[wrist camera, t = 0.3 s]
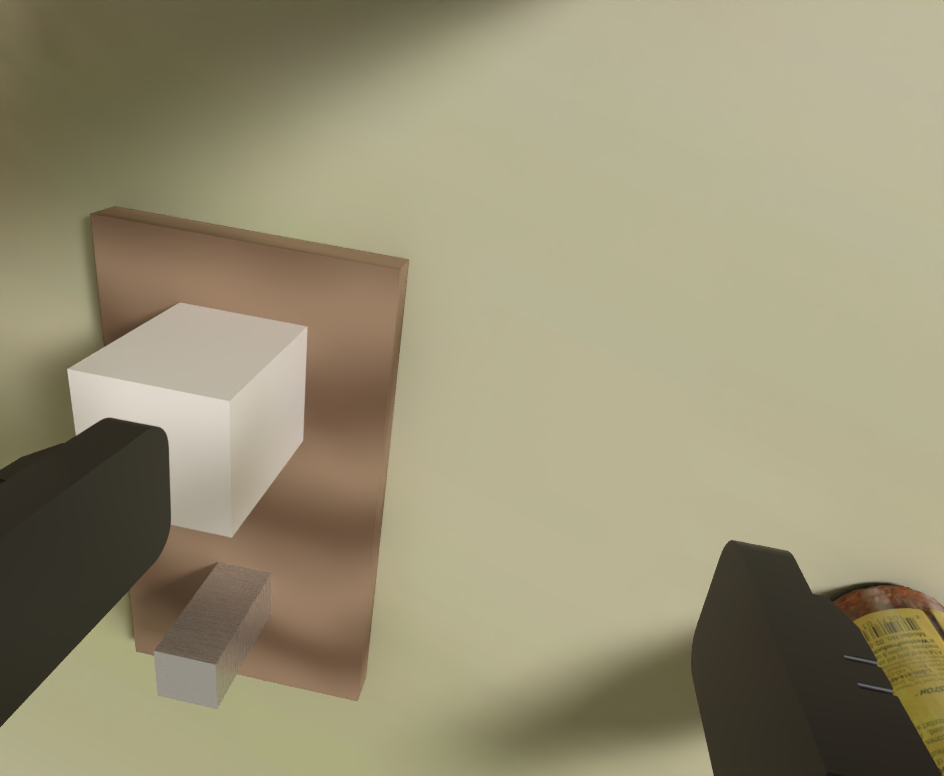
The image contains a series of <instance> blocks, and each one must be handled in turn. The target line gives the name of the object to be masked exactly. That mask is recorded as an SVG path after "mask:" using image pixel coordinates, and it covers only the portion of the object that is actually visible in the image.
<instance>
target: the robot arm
mask: <svg viewBox="0 0 944 776" xmlns="http://www.w3.org/2000/svg"><path fill="white" fill-rule="evenodd" d="M170 526H171V499H170V467H169V442H168V437H167V435H166V432H165V431H164V430H163V429H162V428H160V427H157V426H152V425H147V424H142V423H137V422H132V421H126V420H121V419H116V418H104V419H102V420H100V421H98V422H97V423H95V424H94V425H92V426H91V427H89V428H87V429H86V430H84V431H83V432H81V433H80V434H78V435H77V436H75V437H73V438H72V439H70V440H69V441H67V442H66V443H61V444H59V445H56V446H53V447H50V448H47V449H44V450H41V451H38V452H35V453H32V454H29V455H26V456H23V457H21V458H19V459H18V460H16V461H14V462H13V463H11V464H10V465H8V466H6V467H5V468H3V469H1V470H0V727H1V726H2V725H3V724H4V723H5V722H6V721H7V719H8V718H9V717H10V716H11V715H12V714H13V713H14V712H15V711H16V710H17V709H18V708H19V707H20V706H21V705H22V703H23V702H24V701H25V700H26V699H27V698H28V697H29V696H30V695H31V694H32V693H33V692H34V691H35V690H36V689H37V688H38V686H39V685H40V684H41V683H42V682H43V681H44V680H45V679H46V678H47V677H48V676H49V675H50V674H51V673H52V672H53V670H54V669H55V668H56V667H57V666H58V665H59V664H60V663H61V662H62V661H63V660H64V659H65V658H66V657H67V656H68V655H69V653H70V652H71V651H72V650H73V649H74V648H75V647H76V646H77V645H78V644H79V643H80V642H81V641H82V640H83V639H84V637H85V636H86V635H87V634H88V633H89V632H90V631H91V630H92V629H93V628H94V627H95V626H96V625H97V624H98V623H99V622H100V620H101V619H102V618H103V617H104V616H105V615H106V614H107V613H108V612H109V611H110V610H111V609H112V608H113V607H114V606H115V605H116V603H117V602H118V601H119V600H120V599H121V598H122V597H123V596H124V595H125V594H126V593H127V592H128V591H129V590H130V589H131V587H132V586H133V585H134V584H135V583H136V582H137V581H138V580H139V579H140V578H141V577H142V576H143V575H144V574H145V573H146V572H147V570H148V569H149V568H150V567H151V566H152V565H153V564H154V563H155V562H156V560H157V559H158V558H159V556H160V554H161V553H162V551H163V549H164V547H165V544H166V542H167V539H168V535H169V531H170ZM877 661H878V660H877V659H876V657H875V655H874V653H873V652H872V650H871V648H870V646H869V644H868V643H867V641H866V639H865V637H864V636H863V634H862V632H861V630H860V629H859V627H858V626H857V625H856V624H855V623H854V622H853V621H852V620H851V619H850V618H848V617H847V616H846V615H845V614H844V613H843V612H842V611H841V610H840V609H839V608H838V607H837V606H836V605H835V604H834V603H833V602H832V601H831V600H830V599H829V598H828V597H825V596H820V595H815V594H812V592H811V590H810V588H809V586H808V584H807V582H806V580H805V578H804V576H803V574H802V572H801V570H800V568H799V566H798V564H797V562H796V560H795V558H794V557H793V555H792V554H791V553H790V552H789V551H786V550H780V549H775V548H770V547H765V546H760V545H755V544H750V543H745V542H739V541H734V540H731V541H729V542H728V543H727V544H726V545H725V547H724V549H723V551H722V553H721V556H720V559H719V561H718V564H717V567H716V570H715V573H714V576H713V579H712V582H711V585H710V588H709V591H708V594H707V597H706V600H705V603H704V606H703V609H702V612H701V615H700V618H699V620H698V623H697V626H696V630H695V634H694V638H693V645H692V656H691V665H692V676H693V682H694V686H695V691H696V695H697V700H698V705H699V709H700V714H701V718H702V723H703V728H704V732H705V737H706V742H707V746H708V751H709V755H710V760H711V765H712V769H713V774H714V776H942V774H941V772H940V770H939V768H938V767H937V765H936V763H935V761H934V760H933V758H932V756H931V754H930V753H929V751H928V749H927V747H926V745H925V744H924V742H923V740H922V738H921V737H920V735H919V733H918V731H917V729H916V728H915V726H914V724H913V722H912V721H911V719H910V717H909V715H908V714H907V712H906V710H905V708H904V706H903V705H902V703H901V701H900V699H899V698H898V696H895V695H893V687H892V685H891V683H890V682H889V680H888V678H887V676H886V675H885V673H884V671H883V669H882V668H881V667H878V666H877Z"/></svg>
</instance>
